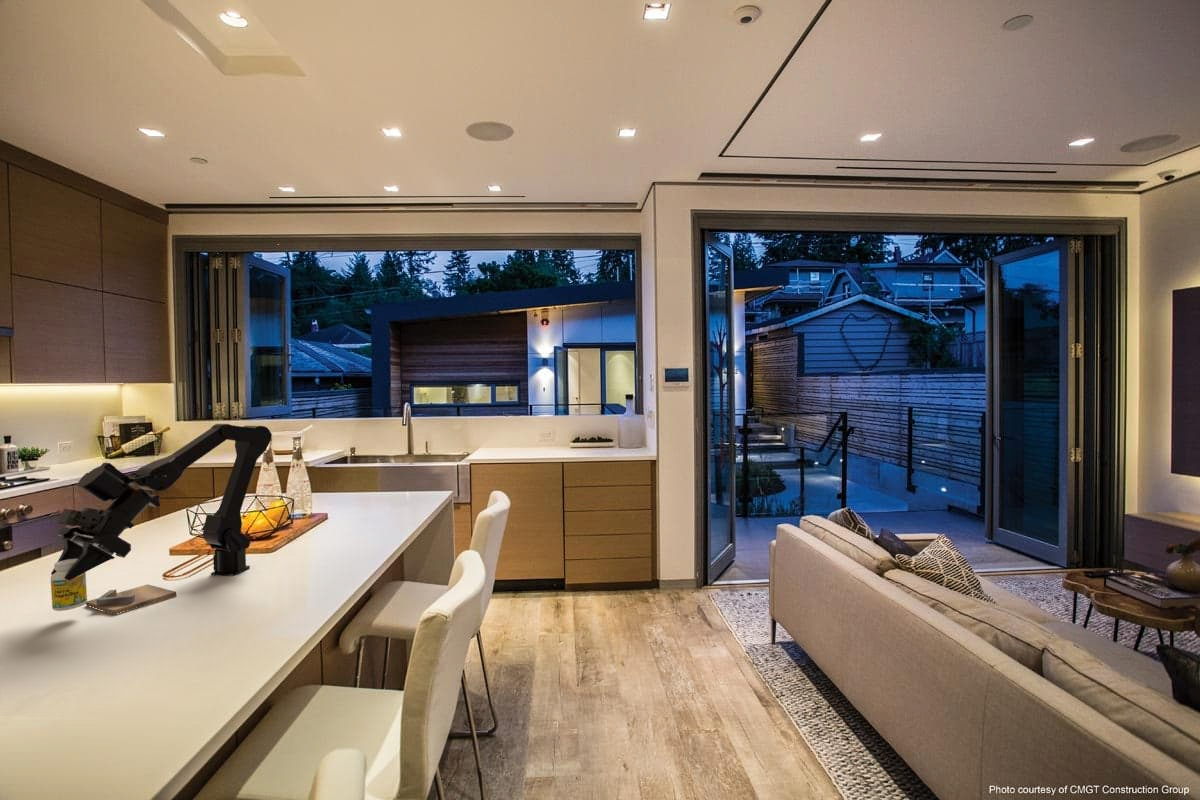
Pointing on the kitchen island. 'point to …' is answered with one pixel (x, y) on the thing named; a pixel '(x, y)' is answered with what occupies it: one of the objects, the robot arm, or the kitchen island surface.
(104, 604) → the square wooden base plate
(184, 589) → the kitchen island surface
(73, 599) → the supplement bottle
